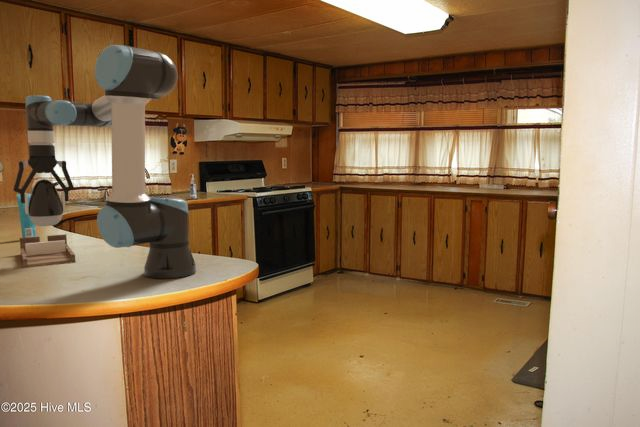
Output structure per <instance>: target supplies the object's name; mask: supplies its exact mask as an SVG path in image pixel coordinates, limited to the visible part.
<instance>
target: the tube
mask: <svg viewBox="0 0 640 427" xmlns="http://www.w3.org/2000/svg"><path fill="white" fill-rule="evenodd" d="M15 195H16V200H17V206H18V208H17V209H18V213H19V219H20V222H19V223H20V229H21V236H22V237H21V238H26V237H37V233H36V232H37V231H36V230H37V229H36V225H35V224H34V223H33V222H32V221H31V219H30V216H29V215H28V214H26V212H25V203H21V198H20V193H18V194H15ZM30 196H31V193H27V197H28V207H29V200H30Z"/></svg>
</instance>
